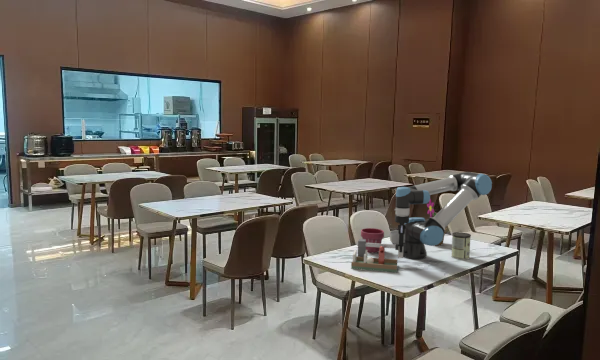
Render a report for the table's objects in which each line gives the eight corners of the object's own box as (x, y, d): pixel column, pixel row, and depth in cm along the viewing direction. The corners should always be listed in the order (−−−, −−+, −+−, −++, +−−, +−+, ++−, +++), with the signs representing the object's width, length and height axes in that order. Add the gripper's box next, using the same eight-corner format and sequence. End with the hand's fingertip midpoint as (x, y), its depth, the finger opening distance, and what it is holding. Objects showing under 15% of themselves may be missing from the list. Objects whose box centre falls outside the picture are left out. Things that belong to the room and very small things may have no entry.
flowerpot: (420, 241, 303) (422, 197, 299) (440, 240, 304) (442, 197, 301) (428, 246, 288) (430, 200, 285) (449, 246, 290) (452, 200, 286)
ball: (373, 263, 246) (374, 256, 246) (373, 265, 242) (373, 258, 242) (366, 262, 247) (366, 255, 247) (366, 264, 243) (366, 257, 243)
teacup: (406, 246, 289) (406, 234, 288) (389, 245, 291) (389, 233, 290) (405, 240, 303) (406, 229, 302) (389, 239, 305) (389, 228, 304)
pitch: (397, 262, 253) (398, 241, 251) (396, 272, 236) (397, 249, 234) (354, 259, 258) (355, 238, 257) (351, 268, 241) (351, 246, 240)
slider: (405, 260, 251) (406, 243, 249) (405, 267, 238) (406, 249, 237) (356, 256, 257) (357, 239, 256) (354, 263, 244) (354, 245, 243)
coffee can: (452, 254, 272) (453, 231, 270) (470, 256, 268) (471, 233, 266) (450, 258, 263) (451, 235, 261) (468, 260, 258) (470, 236, 257)
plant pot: (386, 253, 271) (386, 233, 269) (363, 254, 270) (363, 233, 268) (380, 247, 285) (380, 227, 283) (358, 247, 284) (358, 228, 282)
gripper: (395, 212, 255) (394, 252, 258) (394, 217, 240) (393, 260, 243) (409, 212, 254) (407, 253, 256) (409, 218, 238) (407, 261, 241)
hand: (400, 256), depth 249 cm, fingers closed on slider, 3 cm apart
